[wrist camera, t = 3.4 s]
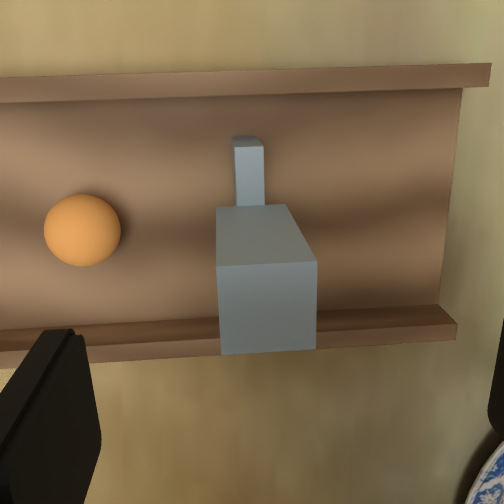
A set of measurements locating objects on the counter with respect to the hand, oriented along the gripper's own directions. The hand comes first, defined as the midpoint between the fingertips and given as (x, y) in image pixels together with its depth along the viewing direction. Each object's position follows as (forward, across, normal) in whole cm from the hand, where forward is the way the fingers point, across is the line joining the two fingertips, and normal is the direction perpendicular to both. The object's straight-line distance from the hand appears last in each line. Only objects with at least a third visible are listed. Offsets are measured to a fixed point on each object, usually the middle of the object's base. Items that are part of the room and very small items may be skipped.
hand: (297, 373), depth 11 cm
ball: (+15, +8, +1) cm, 17 cm away
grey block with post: (+15, 0, +1) cm, 15 cm away
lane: (+16, +14, +1) cm, 22 cm away
